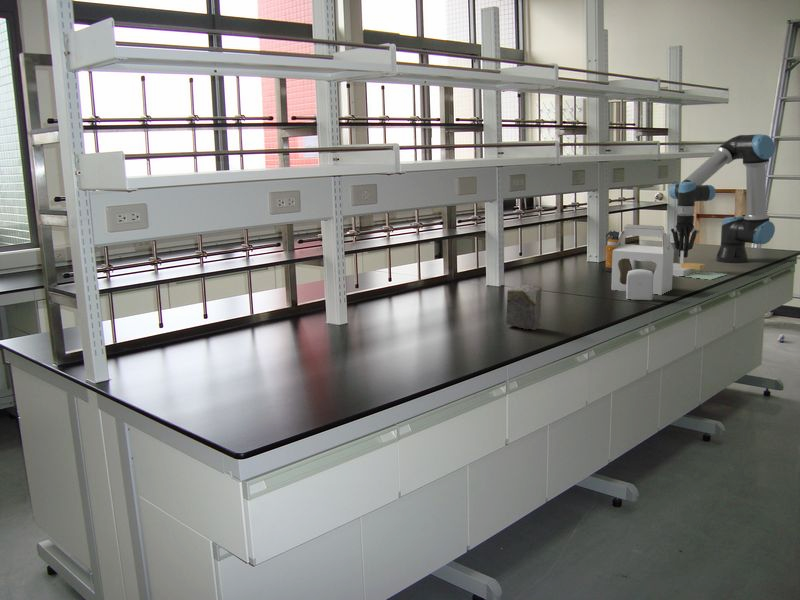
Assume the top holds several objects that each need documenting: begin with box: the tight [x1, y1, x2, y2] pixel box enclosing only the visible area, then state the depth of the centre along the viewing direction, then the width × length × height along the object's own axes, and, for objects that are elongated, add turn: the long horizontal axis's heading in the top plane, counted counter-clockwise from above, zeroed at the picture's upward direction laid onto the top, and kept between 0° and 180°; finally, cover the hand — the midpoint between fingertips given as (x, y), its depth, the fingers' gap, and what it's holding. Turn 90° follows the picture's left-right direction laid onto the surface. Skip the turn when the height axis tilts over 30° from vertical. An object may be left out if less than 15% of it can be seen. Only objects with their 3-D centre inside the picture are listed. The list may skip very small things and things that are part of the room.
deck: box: [654, 262, 702, 277], centre depth 353 cm, size 18×14×3 cm
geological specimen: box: [505, 284, 542, 331], centre depth 254 cm, size 11×6×15 cm, turn 56°
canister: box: [604, 230, 620, 273], centre depth 360 cm, size 9×11×20 cm
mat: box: [684, 270, 728, 281], centre depth 343 cm, size 18×12×1 cm, turn 133°
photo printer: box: [625, 268, 654, 301], centre depth 295 cm, size 10×4×12 cm, turn 72°
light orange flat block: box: [681, 261, 706, 270], centre depth 348 cm, size 9×6×2 cm, turn 43°
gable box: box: [610, 224, 675, 296], centre depth 312 cm, size 22×13×28 cm, turn 52°
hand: (682, 263), depth 352 cm, fingers closed
